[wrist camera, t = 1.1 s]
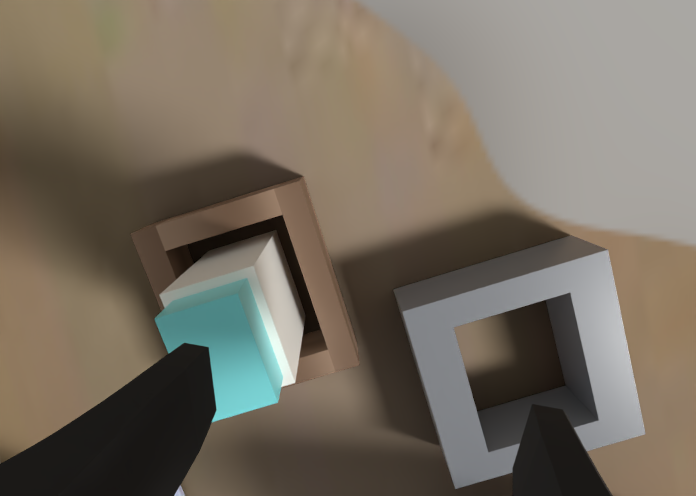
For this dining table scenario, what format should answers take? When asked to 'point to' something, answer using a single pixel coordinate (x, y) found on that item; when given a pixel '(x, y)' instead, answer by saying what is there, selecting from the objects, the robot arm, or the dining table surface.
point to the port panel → (571, 341)
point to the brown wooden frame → (302, 224)
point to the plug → (239, 321)
